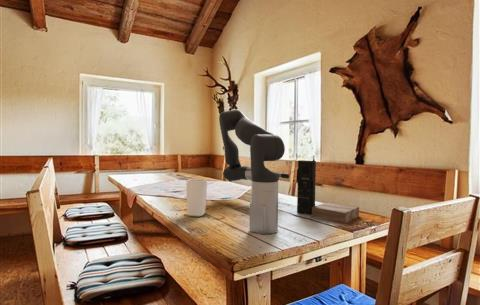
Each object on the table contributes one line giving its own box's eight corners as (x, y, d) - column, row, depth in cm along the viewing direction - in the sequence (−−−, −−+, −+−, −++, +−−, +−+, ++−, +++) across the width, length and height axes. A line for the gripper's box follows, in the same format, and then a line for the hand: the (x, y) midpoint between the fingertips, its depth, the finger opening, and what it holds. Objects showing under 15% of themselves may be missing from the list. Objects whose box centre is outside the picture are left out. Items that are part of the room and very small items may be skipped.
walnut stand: (345, 223, 113) (345, 212, 113) (311, 216, 123) (311, 207, 122) (358, 216, 124) (359, 206, 123) (327, 211, 133) (327, 202, 133)
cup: (202, 218, 119) (202, 181, 119) (185, 217, 121) (185, 180, 120) (207, 213, 126) (207, 179, 126) (191, 212, 128) (191, 178, 127)
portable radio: (294, 212, 129) (294, 155, 128) (298, 209, 135) (299, 154, 134) (312, 214, 126) (313, 155, 125) (315, 211, 131) (316, 155, 130)
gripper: (247, 167, 143) (275, 170, 132) (265, 165, 153) (292, 168, 142) (247, 183, 143) (274, 187, 132) (265, 180, 154) (292, 183, 143)
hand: (283, 177), depth 137 cm, fingers open, 8 cm apart
